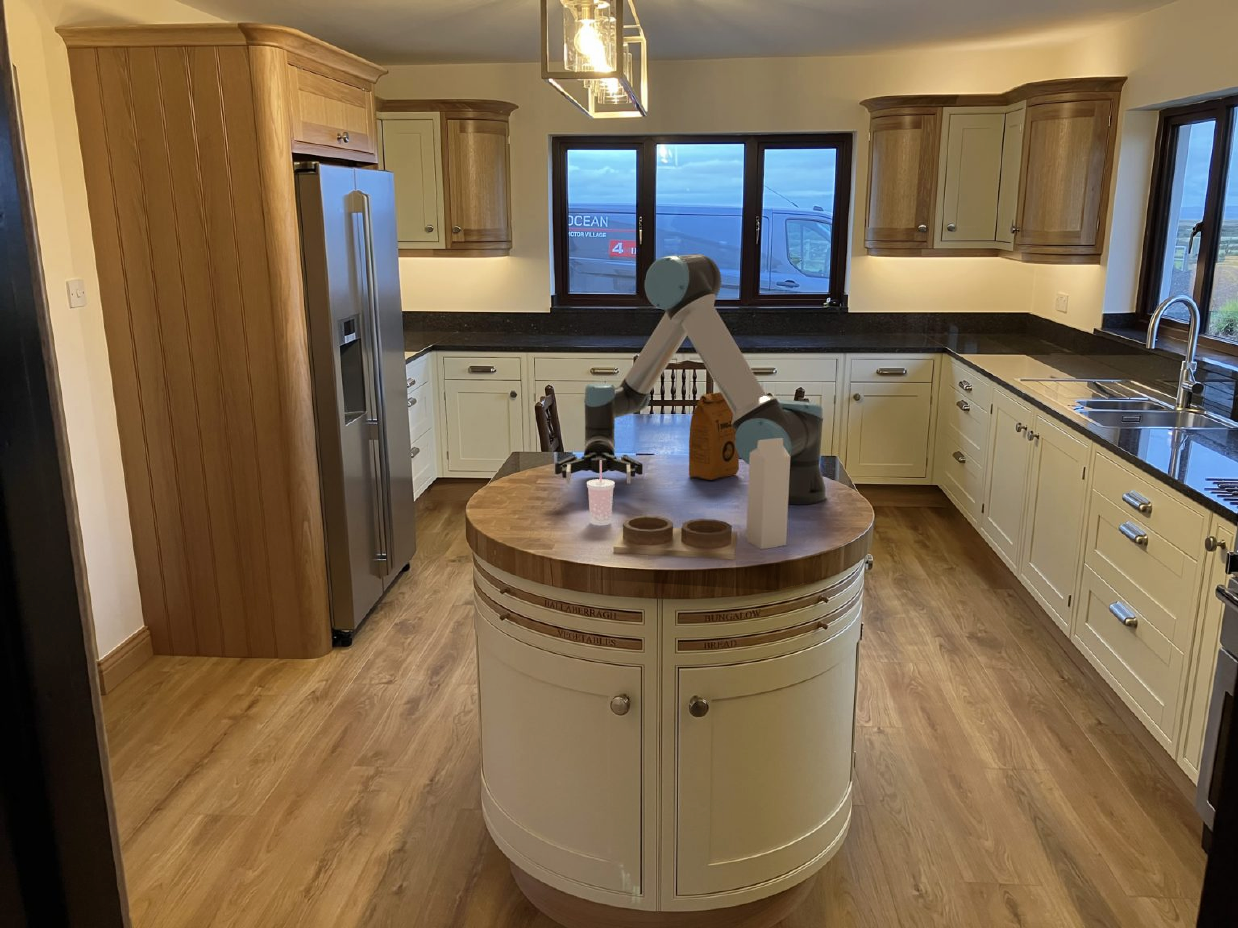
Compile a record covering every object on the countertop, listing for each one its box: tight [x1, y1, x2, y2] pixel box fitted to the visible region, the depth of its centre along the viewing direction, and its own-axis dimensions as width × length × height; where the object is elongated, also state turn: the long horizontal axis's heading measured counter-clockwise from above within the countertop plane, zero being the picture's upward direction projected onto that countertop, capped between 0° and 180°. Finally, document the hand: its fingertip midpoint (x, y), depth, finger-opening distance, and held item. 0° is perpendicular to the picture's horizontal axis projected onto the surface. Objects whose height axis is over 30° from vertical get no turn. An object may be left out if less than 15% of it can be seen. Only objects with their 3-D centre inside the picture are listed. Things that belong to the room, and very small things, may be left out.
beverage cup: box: [586, 460, 615, 526], centre depth 213 cm, size 6×6×14 cm
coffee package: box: [688, 391, 740, 481], centre depth 250 cm, size 10×12×22 cm
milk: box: [745, 438, 790, 550], centre depth 199 cm, size 6×6×22 cm
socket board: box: [613, 515, 738, 560], centre depth 200 cm, size 24×14×4 cm, turn 81°
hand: (598, 477), depth 219 cm, fingers open, 13 cm apart
